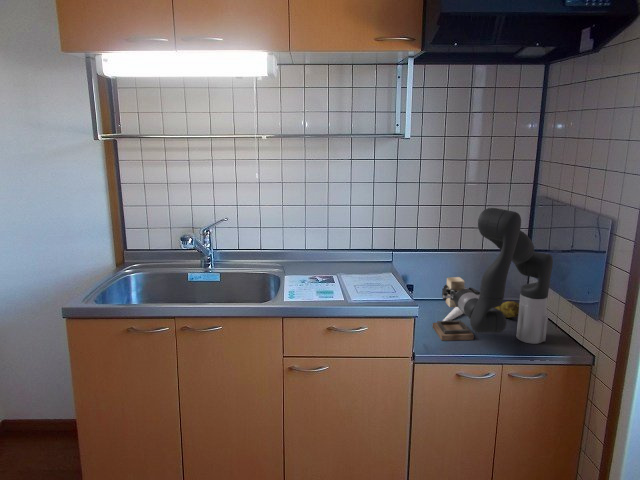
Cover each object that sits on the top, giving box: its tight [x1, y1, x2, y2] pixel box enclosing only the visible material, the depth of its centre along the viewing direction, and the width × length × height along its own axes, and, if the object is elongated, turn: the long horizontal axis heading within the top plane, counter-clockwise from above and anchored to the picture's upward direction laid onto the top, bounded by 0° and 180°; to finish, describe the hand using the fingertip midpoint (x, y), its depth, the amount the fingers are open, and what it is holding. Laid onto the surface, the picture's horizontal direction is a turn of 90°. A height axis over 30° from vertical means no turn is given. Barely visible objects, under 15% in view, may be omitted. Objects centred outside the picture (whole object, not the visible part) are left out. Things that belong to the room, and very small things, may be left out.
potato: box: [494, 300, 519, 319], centre depth 200 cm, size 8×13×8 cm, turn 18°
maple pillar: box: [445, 276, 465, 308], centre depth 183 cm, size 5×5×10 cm
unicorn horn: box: [442, 307, 464, 321], centre depth 202 cm, size 5×24×5 cm, turn 134°
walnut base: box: [432, 319, 475, 342], centre depth 187 cm, size 12×12×3 cm
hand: (452, 287), depth 185 cm, fingers closed on maple pillar, 5 cm apart
